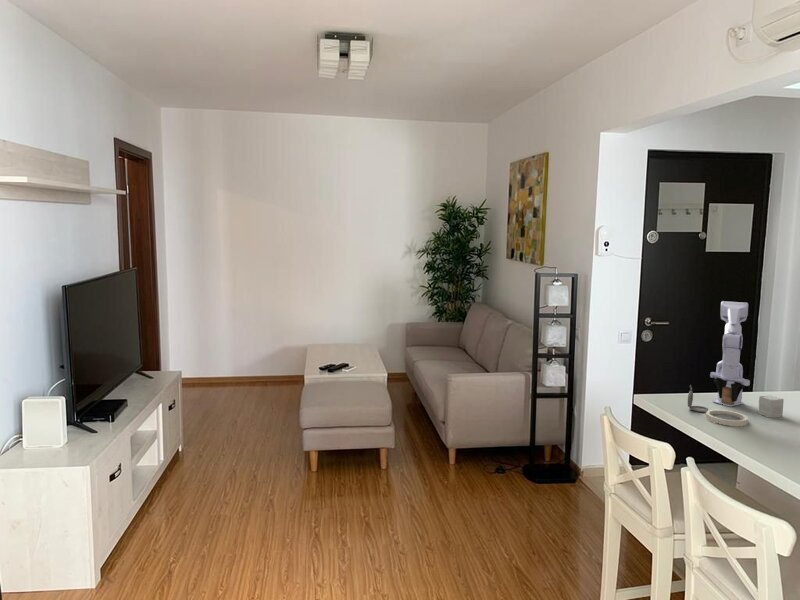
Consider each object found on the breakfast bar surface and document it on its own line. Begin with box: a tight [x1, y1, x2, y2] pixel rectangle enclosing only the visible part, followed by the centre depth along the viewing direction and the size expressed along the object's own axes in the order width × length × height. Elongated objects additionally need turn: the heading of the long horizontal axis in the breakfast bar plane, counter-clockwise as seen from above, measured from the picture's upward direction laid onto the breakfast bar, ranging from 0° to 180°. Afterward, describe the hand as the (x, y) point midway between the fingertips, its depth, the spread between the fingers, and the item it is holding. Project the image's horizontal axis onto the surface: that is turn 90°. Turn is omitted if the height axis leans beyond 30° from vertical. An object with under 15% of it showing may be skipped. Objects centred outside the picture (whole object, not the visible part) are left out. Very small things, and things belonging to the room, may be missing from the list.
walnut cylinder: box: [721, 387, 734, 405], centre depth 226 cm, size 4×4×6 cm
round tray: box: [705, 409, 749, 427], centre depth 227 cm, size 14×14×2 cm
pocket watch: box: [687, 384, 709, 413], centre depth 239 cm, size 8×8×10 cm
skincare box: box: [758, 394, 785, 419], centre depth 233 cm, size 6×6×7 cm
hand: (727, 399), depth 226 cm, fingers closed on walnut cylinder, 4 cm apart
